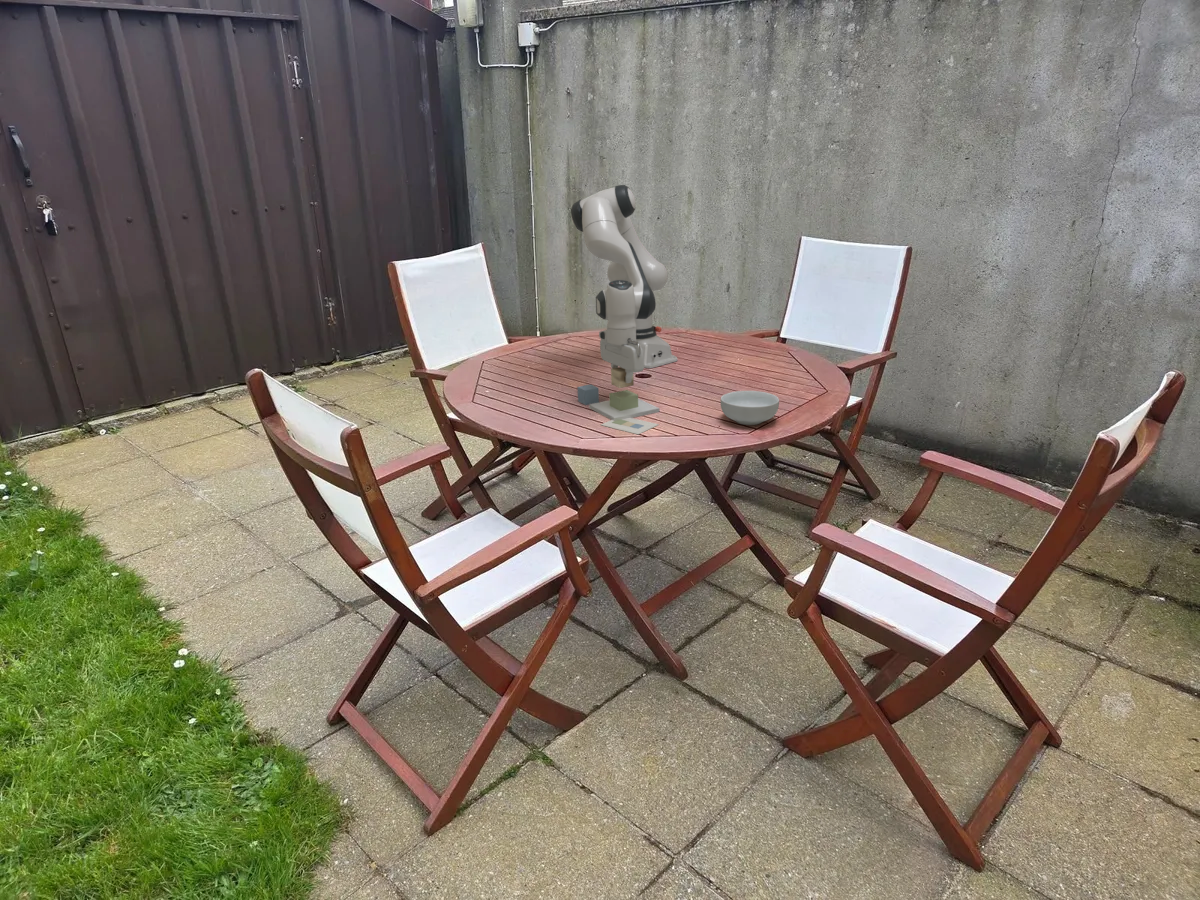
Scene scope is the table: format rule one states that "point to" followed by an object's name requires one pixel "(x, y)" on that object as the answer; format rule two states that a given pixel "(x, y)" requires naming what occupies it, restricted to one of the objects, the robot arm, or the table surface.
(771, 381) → the table surface
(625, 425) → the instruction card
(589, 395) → the slate blue block
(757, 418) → the cereal bowl
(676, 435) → the table surface
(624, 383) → the beech block
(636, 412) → the build plate
